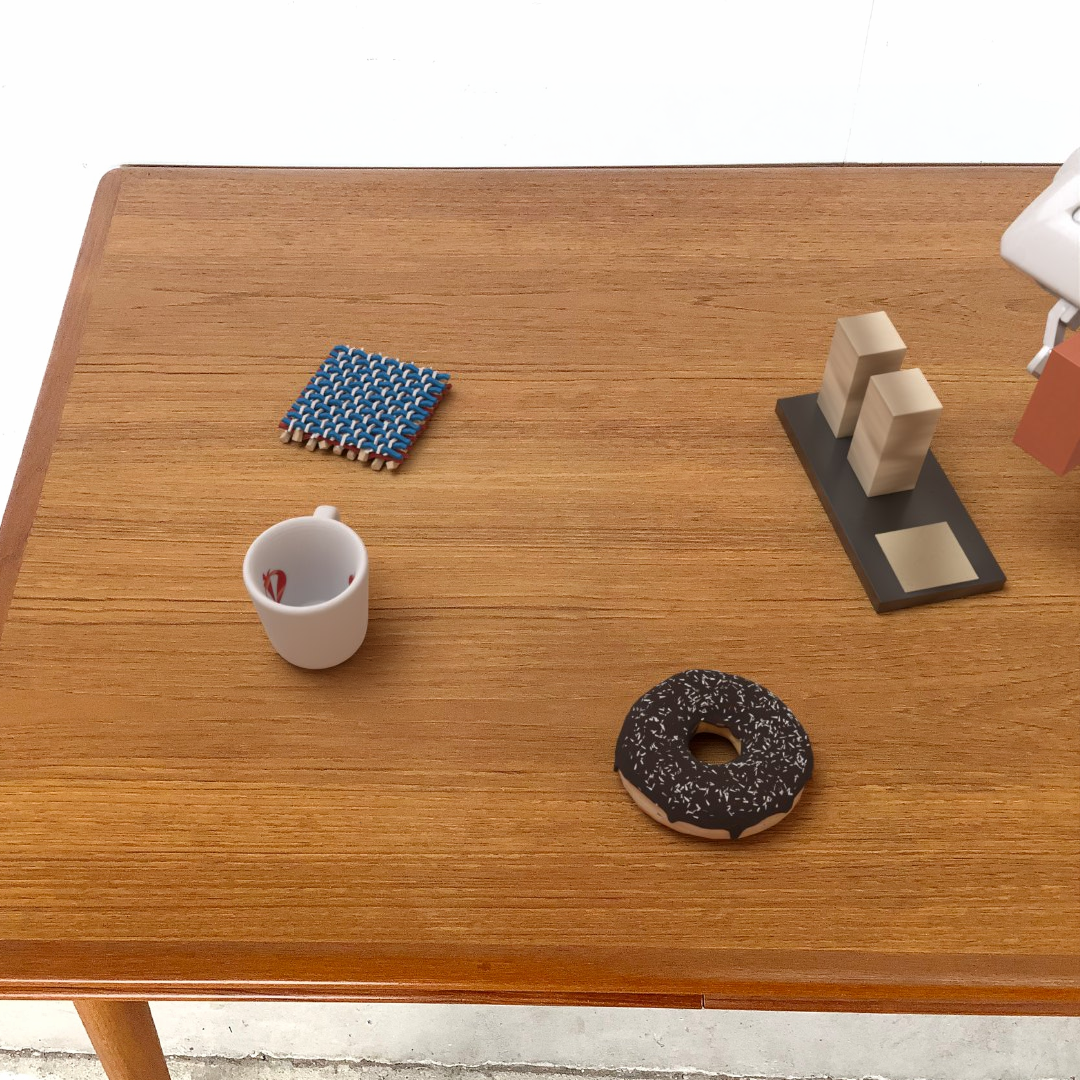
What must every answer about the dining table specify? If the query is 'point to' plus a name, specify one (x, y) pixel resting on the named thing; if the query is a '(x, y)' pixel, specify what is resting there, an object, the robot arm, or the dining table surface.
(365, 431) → the woven mat
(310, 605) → the cup
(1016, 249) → the robot arm
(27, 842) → the dining table surface
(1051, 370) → the terracotta rectangular block
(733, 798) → the donut
